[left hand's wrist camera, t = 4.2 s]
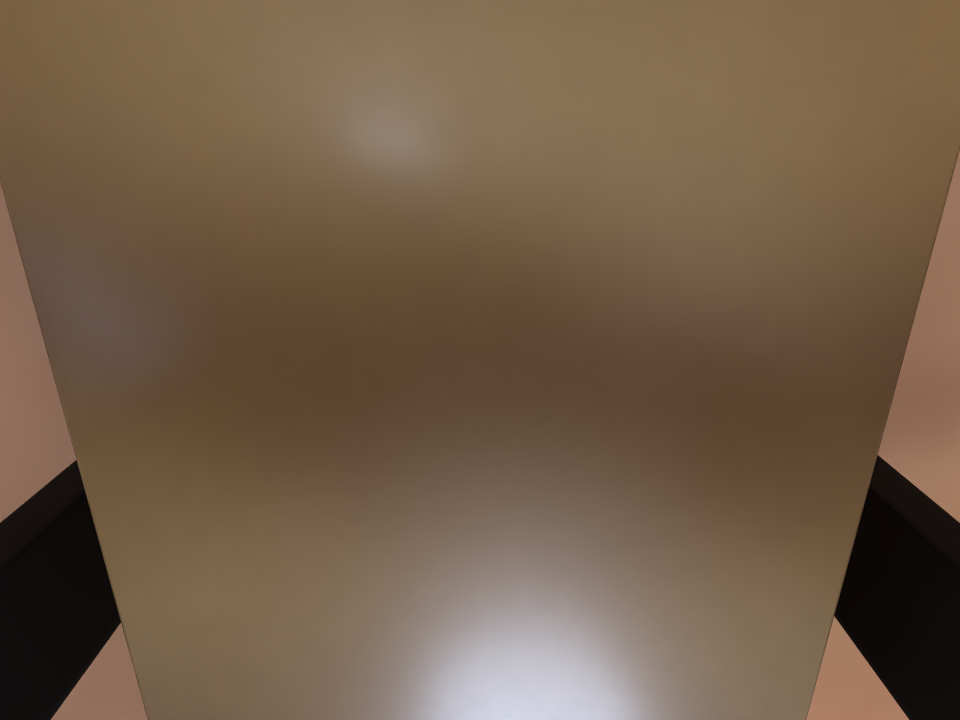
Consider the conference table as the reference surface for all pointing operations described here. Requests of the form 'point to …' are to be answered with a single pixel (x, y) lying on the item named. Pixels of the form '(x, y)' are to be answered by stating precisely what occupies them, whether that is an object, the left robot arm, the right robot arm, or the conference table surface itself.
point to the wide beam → (477, 335)
